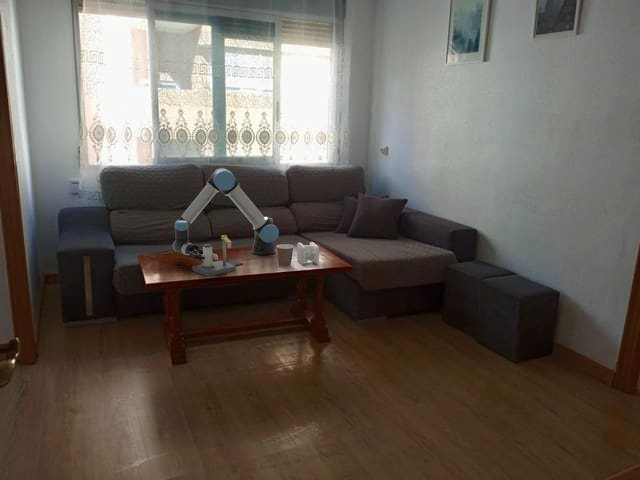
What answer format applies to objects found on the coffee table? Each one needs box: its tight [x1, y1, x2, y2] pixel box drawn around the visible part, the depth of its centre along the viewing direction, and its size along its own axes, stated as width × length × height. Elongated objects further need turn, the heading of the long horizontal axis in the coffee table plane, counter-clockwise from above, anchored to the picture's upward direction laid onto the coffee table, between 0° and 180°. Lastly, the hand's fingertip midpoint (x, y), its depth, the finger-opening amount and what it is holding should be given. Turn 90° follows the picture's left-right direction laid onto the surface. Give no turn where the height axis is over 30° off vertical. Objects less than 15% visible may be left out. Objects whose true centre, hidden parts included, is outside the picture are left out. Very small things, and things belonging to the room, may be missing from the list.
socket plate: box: [191, 240, 237, 277], centre depth 287 cm, size 19×15×17 cm
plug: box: [202, 243, 213, 269], centre depth 285 cm, size 6×6×15 cm
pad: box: [226, 260, 244, 267], centre depth 303 cm, size 8×8×1 cm
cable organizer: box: [296, 241, 320, 266], centre depth 311 cm, size 15×11×12 cm
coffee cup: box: [275, 243, 295, 268], centre depth 302 cm, size 10×10×12 cm
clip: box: [220, 234, 232, 249], centre depth 285 cm, size 16×3×4 cm, turn 22°
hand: (212, 258), depth 281 cm, fingers closed on plug, 5 cm apart
